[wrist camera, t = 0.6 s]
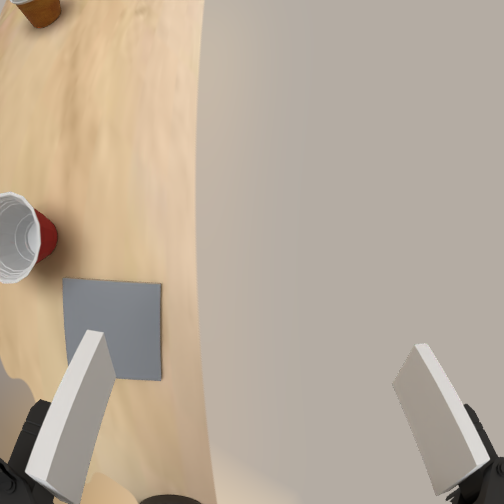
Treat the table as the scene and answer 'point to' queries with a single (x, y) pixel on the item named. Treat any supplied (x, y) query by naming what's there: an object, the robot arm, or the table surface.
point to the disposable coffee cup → (39, 11)
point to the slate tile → (116, 322)
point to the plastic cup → (22, 237)
